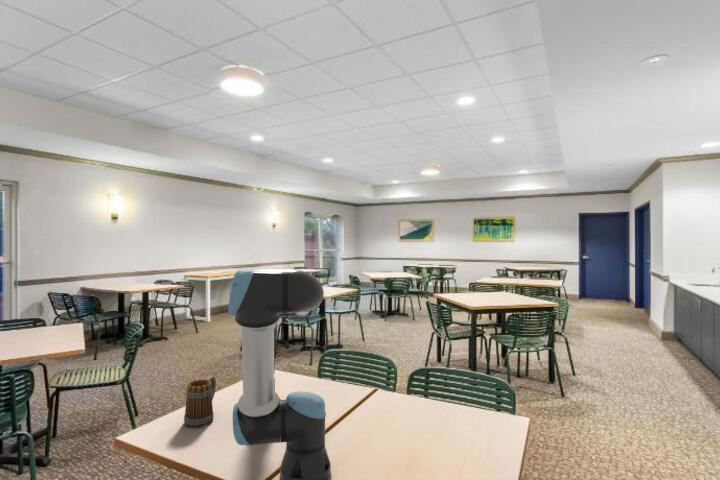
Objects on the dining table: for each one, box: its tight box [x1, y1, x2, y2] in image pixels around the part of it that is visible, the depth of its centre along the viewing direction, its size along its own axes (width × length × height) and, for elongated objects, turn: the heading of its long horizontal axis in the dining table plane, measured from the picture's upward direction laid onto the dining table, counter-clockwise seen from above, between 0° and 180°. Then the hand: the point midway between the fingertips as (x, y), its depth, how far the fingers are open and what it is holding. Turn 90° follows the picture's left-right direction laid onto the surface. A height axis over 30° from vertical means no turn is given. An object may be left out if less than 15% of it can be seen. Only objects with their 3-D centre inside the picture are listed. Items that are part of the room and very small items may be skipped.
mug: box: [183, 376, 217, 429], centre depth 155 cm, size 16×11×15 cm
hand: (265, 388), depth 152 cm, fingers closed on plug, 5 cm apart
